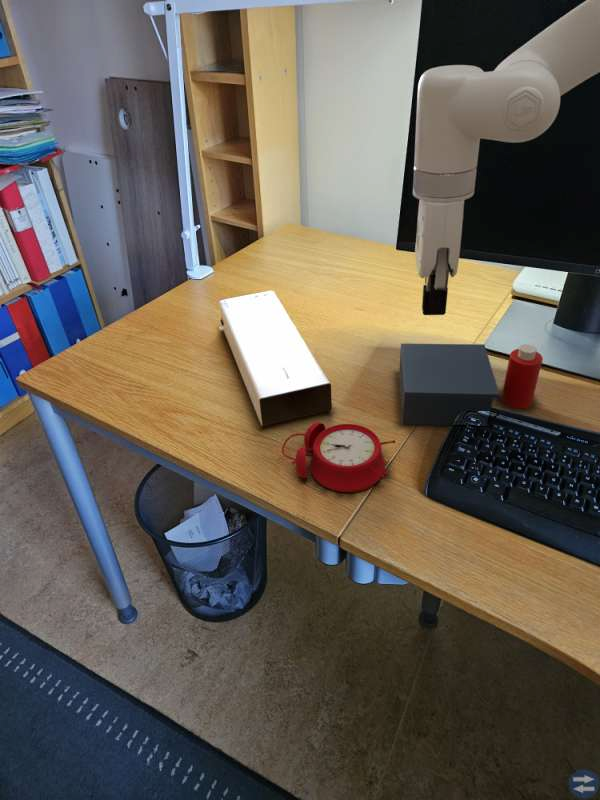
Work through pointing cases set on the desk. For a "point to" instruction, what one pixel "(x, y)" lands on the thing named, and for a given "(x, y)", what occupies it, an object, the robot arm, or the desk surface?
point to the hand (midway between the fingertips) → (433, 312)
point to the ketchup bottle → (521, 377)
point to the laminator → (273, 359)
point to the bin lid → (447, 371)
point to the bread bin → (437, 407)
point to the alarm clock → (341, 456)
